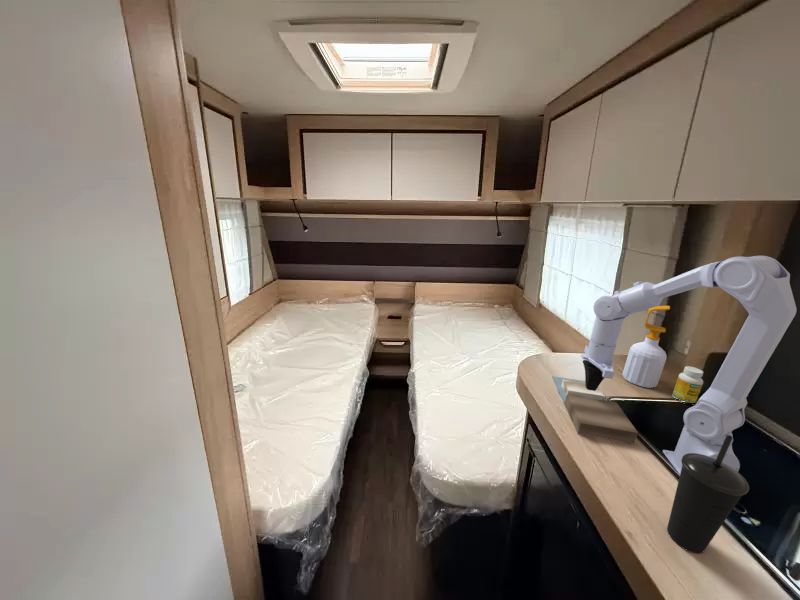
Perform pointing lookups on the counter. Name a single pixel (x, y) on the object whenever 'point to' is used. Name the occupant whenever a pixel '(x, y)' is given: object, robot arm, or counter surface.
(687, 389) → the supplement bottle
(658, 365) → the soap bottle
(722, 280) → the robot arm
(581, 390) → the tile
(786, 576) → the counter surface
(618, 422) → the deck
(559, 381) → the mat
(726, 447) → the drinking cup
